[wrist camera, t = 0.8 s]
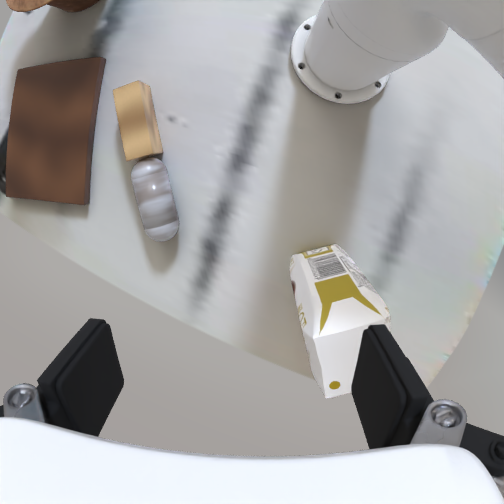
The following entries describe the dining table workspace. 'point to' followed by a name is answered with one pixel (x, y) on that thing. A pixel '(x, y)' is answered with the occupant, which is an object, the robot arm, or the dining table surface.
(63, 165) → the chopping board
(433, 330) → the dining table surface
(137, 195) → the wood and marble capsule
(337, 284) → the juice carton
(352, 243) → the dining table surface
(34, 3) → the pitcher
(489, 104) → the dining table surface
